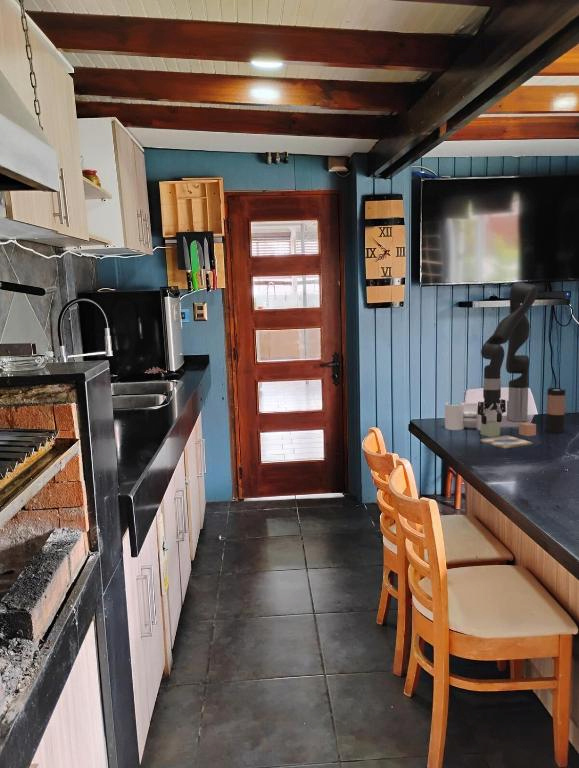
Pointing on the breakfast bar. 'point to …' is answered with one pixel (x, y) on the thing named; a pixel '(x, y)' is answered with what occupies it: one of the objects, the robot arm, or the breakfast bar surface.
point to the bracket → (465, 416)
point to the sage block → (490, 428)
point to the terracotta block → (527, 429)
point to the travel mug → (555, 410)
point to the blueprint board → (506, 441)
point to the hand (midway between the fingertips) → (491, 423)
